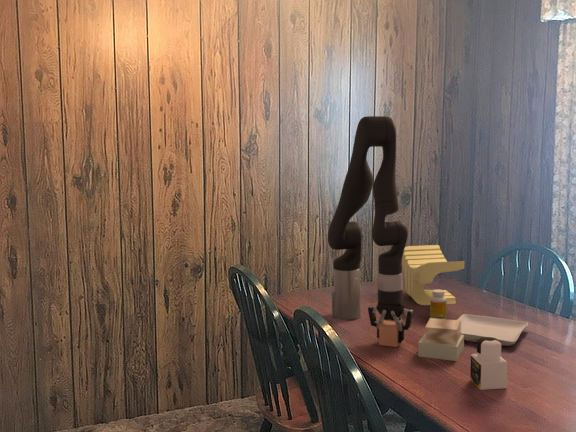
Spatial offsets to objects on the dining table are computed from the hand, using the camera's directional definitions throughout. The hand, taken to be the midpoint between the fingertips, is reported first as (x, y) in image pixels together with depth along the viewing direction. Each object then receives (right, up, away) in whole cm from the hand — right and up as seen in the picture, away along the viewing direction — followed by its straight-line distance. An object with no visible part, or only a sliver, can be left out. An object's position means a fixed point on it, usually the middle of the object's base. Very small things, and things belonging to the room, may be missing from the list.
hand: (390, 340), depth 203 cm
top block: (+14, +2, -9) cm, 17 cm away
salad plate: (+31, 0, +5) cm, 32 cm away
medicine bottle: (+20, -5, -32) cm, 38 cm away
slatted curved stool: (+22, +6, +47) cm, 52 cm away
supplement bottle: (+20, +3, +24) cm, 31 cm away
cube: (0, -1, 0) cm, 1 cm away
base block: (+14, -2, -8) cm, 16 cm away
